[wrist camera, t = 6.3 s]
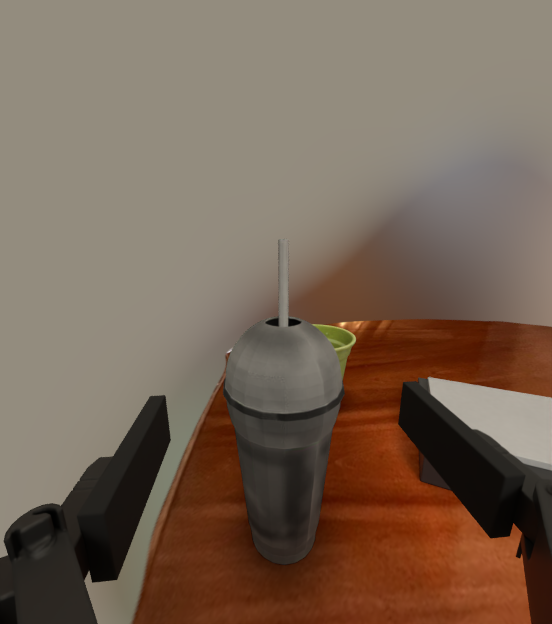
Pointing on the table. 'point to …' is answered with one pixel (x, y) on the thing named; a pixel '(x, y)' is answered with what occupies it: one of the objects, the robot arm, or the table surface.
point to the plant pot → (339, 342)
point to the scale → (497, 422)
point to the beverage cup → (283, 424)
